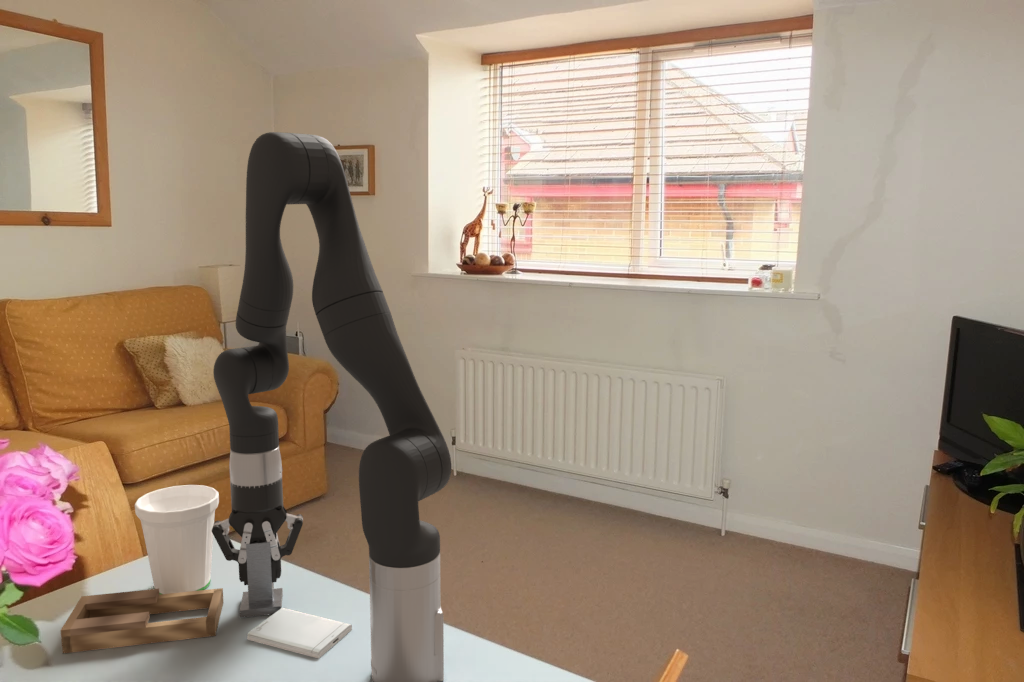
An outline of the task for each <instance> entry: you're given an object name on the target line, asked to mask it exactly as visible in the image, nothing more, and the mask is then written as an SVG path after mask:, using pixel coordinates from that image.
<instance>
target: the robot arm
mask: <svg viewBox="0 0 1024 682" xmlns="http://www.w3.org/2000/svg"><path fill="white" fill-rule="evenodd" d="M245 183H246V184H245V185H246V187H245V190H246V191H245V194H246V195H245V259H244V260H245V261H244V272H243V277H242V278H243V279H242V284H241V290H240V295H239V301H238V306H237V312H236V316H235V329H236V331H237V333H238V334H239V335H240V336H241V337H242V338H244V339H246V340H248V341H250V342H255V343H258V345H252V346H251V345H250V346H245V347H237V348H230V349H225V350H224V351H222V352H220V353H219V354H218V356H217V358H216V359H215V362H214V364H213V379H214V383H215V385H216V388H217V391H218V393H219V396H220V398H221V402H222V404H223V408H224V411H225V415H226V418H227V421H228V426H229V449H230V453H229V479H230V480H229V484H230V500H231V501H230V504H231V512H230V514H229V517H228V518H225V519H223V520H216V521H215V520H214V525H213V528H212V533H213V538H214V539H215V541H216V542H217V544H218V547H219V549H220V550H221V552H222V554H223V556H224V558H225V560H226V561H228V562H232V561H235V562H237V564H238V575H239V578H238V579H239V581H240V583H243V585H244V586H248V577H247V556H246V544H249V543H250V542H253V541H256V540H264V541H265V540H267V542H270V548H271V555H272V559H271V567H272V583H273V582H274V583H277V581H278V579H280V578H281V577H282V558H283V557H284V556H291V555H292V553H293V550H294V548H295V545H296V543H297V541H298V539H299V535H300V532H301V529H302V527H303V525H304V516H303V515H302V514H300V513H297V514H296V515H295V514H291V513H288V512H287V509H286V508H285V505H284V495H283V494H284V493H283V492H284V490H283V489H284V488H283V465H282V455H281V451H280V440H279V435H280V434H279V418H278V417H279V416H278V413H277V412H276V410H275V409H273V408H271V407H268V406H261V405H260V406H259V405H252V404H251V402H250V399H249V395H253V394H258V393H263V392H269V391H274V390H276V389H278V388H280V387H281V386H282V385H283V384H284V383H285V382H286V380H287V378H288V375H289V371H290V362H289V356H288V355H289V354H288V344H287V343H288V340H287V339H288V338H287V324H288V320H289V316H290V310H291V308H292V307H291V306H292V301H293V296H294V278H293V273H292V270H291V268H290V264H289V262H288V259H287V257H286V254H285V250H284V248H283V244H282V240H281V224H282V219H283V215H284V212H285V208H286V207H287V205H306V206H307V208H308V210H309V213H310V215H311V218H312V219H313V223H314V226H315V230H316V233H317V237H318V245H319V246H318V258H317V262H316V268H315V271H314V276H313V283H312V289H311V290H312V291H311V303H312V307H313V311H314V315H315V316H316V319H317V320H316V321H317V322H318V325H319V327H320V331H321V333H322V336H323V339H324V341H325V344H326V346H327V349H328V350H329V352H330V353H331V355H332V356H333V357H334V359H336V361H337V362H338V363H339V365H341V367H343V369H344V370H345V371H346V372H347V373H348V374H350V376H352V378H353V379H355V381H357V382H358V383H359V385H361V387H363V389H365V391H366V392H367V393H368V394H369V395H370V397H371V398H372V399H373V400H374V402H375V404H376V406H377V407H378V409H379V411H380V413H381V416H382V418H383V420H384V424H385V425H386V429H387V431H388V436H384V437H381V438H379V439H376V440H375V441H372V442H370V443H369V444H368V445H367V446H366V447H365V449H364V450H363V452H362V455H361V457H360V461H359V467H358V489H359V501H360V513H361V515H360V516H361V526H362V531H363V533H364V537H365V539H366V542H367V545H368V567H369V568H368V569H369V607H370V608H369V612H370V619H369V620H370V652H371V653H370V668H371V679H372V682H443V681H444V677H445V676H444V675H445V674H444V673H445V672H444V670H445V668H444V667H445V666H444V665H445V663H444V661H445V659H444V655H445V654H444V653H445V652H444V651H445V649H444V647H445V645H444V639H445V638H444V613H443V608H442V606H441V605H442V604H441V535H440V532H439V529H438V528H437V527H436V526H435V525H434V524H432V523H429V522H427V521H424V520H421V519H420V511H419V510H420V509H419V502H420V501H422V500H424V499H426V498H429V497H430V496H432V495H435V494H436V493H438V492H440V491H441V490H442V489H444V488H445V487H446V486H447V485H448V483H449V480H450V478H451V474H452V456H451V454H450V451H449V447H448V444H447V442H446V439H445V437H444V435H443V433H442V431H441V429H440V427H439V425H438V423H437V421H436V418H435V417H434V414H433V413H432V411H431V409H430V406H429V405H428V403H427V400H426V398H425V397H424V394H423V392H422V390H421V388H420V386H419V383H418V381H417V378H416V377H415V373H414V372H413V368H412V367H411V364H410V361H409V358H408V356H407V354H406V352H405V348H404V347H403V344H402V341H401V339H400V337H399V334H398V330H397V328H396V325H395V321H394V318H393V316H392V313H391V310H390V307H389V305H388V302H387V300H386V297H385V294H384V291H383V289H382V286H381V285H380V284H381V283H380V281H379V279H378V277H377V275H376V272H375V269H374V267H373V264H372V260H371V258H370V255H369V252H368V249H367V246H366V243H365V240H364V237H363V234H362V230H361V228H360V225H359V222H358V218H357V214H356V211H355V207H354V203H353V200H352V199H353V198H352V195H351V192H350V187H349V183H348V179H347V177H346V172H345V169H344V167H343V163H342V161H341V158H340V155H339V153H338V151H337V149H336V148H335V146H334V145H333V144H332V142H330V141H329V140H328V139H327V138H325V137H323V136H320V135H317V134H309V133H298V132H297V133H294V132H279V131H270V132H269V131H268V132H265V133H262V134H260V136H258V137H257V138H256V139H255V140H254V142H253V144H252V146H251V148H250V151H249V155H248V159H247V166H246V182H245ZM285 522H286V523H287V529H289V533H288V536H287V538H286V541H285V544H282V545H280V541H279V536H278V531H279V530H280V529H281V527H282V525H283V524H284V523H285ZM230 527H232V529H234V531H235V532H236V533H237V534H238V535H239V536H240V537H241V542H240V547H239V549H238V548H237V549H236V548H235V546H234V544H233V542H232V540H231V538H230V536H229V534H230V533H229V532H230Z"/></svg>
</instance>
